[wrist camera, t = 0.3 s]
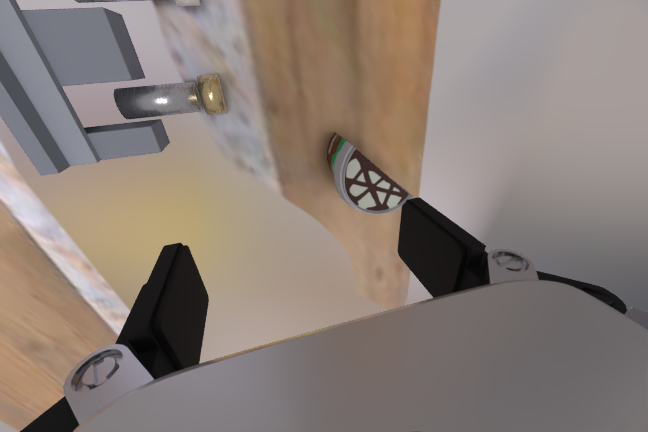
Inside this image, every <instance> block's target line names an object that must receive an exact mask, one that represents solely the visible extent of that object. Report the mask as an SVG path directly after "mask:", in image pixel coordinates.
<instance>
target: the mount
mask: <svg viewBox="0 0 648 432" xmlns="http://www.w3.org/2000/svg"><path fill="white" fill-rule="evenodd" d="M142 78H145V76H144V73H143V70H142V68H141V65H140V62H139V60H138V57H137V54H136V52H135V49H134V46H133V44H132V41H131V39H130V36H129V33H128V31H127V28H126V25H125V23H124V20H123V17H122V15H121V14H118V13H116V12H113V11H111V10H108V9H105V8H75V9H47V10H20V8H19V6H18V4H17V2H16V0H0V116H1V118H2V119H3V120H4V122H5V124H6V125H7V126H8V128H9V129H10V131H11V132H12V134H13V135H14V137H15V138H16V140H17V141H18V143H19V144H20V146H21V147H22V148H23V150H24V151H25V153H26V154H27V156H28V157H29V159H30V160H31V162H32V163H33V165H34V166H35V167H36V169H37V170H38V172H39V173H40V175H48V174H55V173H60V172H61V171H63V170H65V169H66V168H68V167H70V166H75V165H83V164H90V163H98V162H99V161H100V160H106V159H113V158H121V157H128V156H136V155H143V154H151V153H158V152H162V151H163V149H164V148H165V147H166V146H167V145H168V144H169V143H170V142H169V139H168V136H167V134H166V131H165V129H164V126H163V123H162V121H161V119H159V120H150V121H142V122H132V123H124V124H114V125H106V126H97V127H87V128H83V126H82V124H81V122H80V120H79V118H78V116H77V114H76V113H75V111H74V109H73V107H72V105H71V103H70V102H69V99H68V98H67V96H66V94H65V92H64V90H63V88H62V86H68V85H80V84H92V83H104V82H115V81H128V80H136V79H142Z"/></svg>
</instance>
